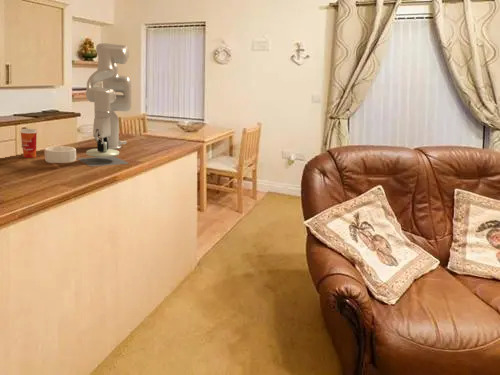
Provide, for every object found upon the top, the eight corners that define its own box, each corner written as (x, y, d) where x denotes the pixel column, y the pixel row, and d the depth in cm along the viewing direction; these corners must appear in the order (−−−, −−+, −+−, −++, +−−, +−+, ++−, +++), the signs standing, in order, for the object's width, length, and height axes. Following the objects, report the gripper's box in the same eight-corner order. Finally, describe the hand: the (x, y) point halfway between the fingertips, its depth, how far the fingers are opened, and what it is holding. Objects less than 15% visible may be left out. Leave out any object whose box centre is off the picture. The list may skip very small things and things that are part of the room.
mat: (113, 156, 235) (113, 155, 235) (129, 164, 220) (129, 163, 220) (76, 159, 222) (76, 158, 222) (90, 167, 207) (90, 166, 207)
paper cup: (17, 157, 217) (16, 129, 213) (30, 154, 223) (29, 127, 220) (29, 159, 214) (28, 131, 210) (42, 156, 221) (40, 129, 217)
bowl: (70, 157, 226) (70, 145, 224) (79, 162, 216) (79, 150, 214) (41, 158, 217) (41, 147, 215) (50, 164, 207) (49, 152, 205)
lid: (111, 149, 232) (111, 138, 230) (124, 155, 220) (124, 144, 218) (81, 151, 221) (81, 140, 220) (93, 158, 210) (93, 146, 208)
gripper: (103, 112, 224) (104, 146, 229) (86, 115, 208) (87, 152, 213) (117, 113, 222) (117, 148, 228) (101, 117, 207) (101, 154, 212)
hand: (102, 150), depth 220 cm, fingers closed on lid, 4 cm apart
